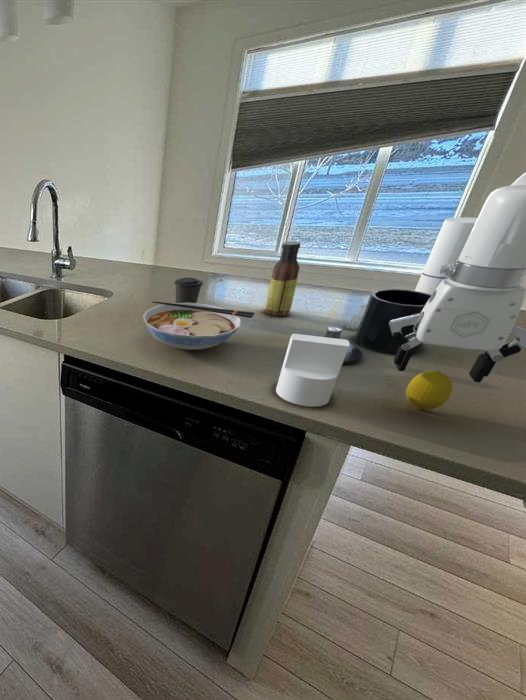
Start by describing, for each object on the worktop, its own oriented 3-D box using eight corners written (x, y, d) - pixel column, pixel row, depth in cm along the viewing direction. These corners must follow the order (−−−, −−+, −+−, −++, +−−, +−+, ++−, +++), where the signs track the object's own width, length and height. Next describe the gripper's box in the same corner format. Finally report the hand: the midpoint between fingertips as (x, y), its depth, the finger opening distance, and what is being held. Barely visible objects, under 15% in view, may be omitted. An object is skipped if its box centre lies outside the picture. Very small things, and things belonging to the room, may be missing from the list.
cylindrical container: (404, 316, 108) (446, 216, 96) (441, 321, 104) (490, 218, 91) (399, 324, 104) (442, 221, 92) (437, 330, 100) (488, 223, 87)
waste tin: (413, 337, 97) (434, 291, 92) (424, 358, 89) (448, 308, 83) (352, 331, 103) (368, 287, 97) (357, 350, 95) (375, 303, 89)
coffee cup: (196, 317, 119) (201, 284, 114) (167, 314, 123) (171, 281, 118) (201, 308, 125) (206, 276, 120) (174, 305, 129) (178, 274, 124)
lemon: (443, 409, 73) (464, 371, 69) (434, 421, 71) (455, 382, 67) (404, 397, 77) (422, 360, 73) (394, 408, 75) (412, 370, 71)
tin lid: (357, 346, 96) (366, 322, 93) (364, 370, 87) (374, 344, 84) (294, 338, 102) (300, 316, 99) (294, 360, 93) (301, 335, 90)
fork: (374, 315, 116) (378, 306, 114) (357, 330, 103) (361, 320, 102) (362, 313, 117) (366, 304, 116) (343, 328, 105) (347, 317, 104)
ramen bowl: (121, 350, 104) (123, 321, 100) (157, 321, 119) (160, 294, 115) (224, 374, 90) (231, 341, 86) (251, 338, 105) (258, 308, 100)
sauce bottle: (288, 310, 118) (307, 240, 108) (289, 318, 113) (309, 245, 103) (263, 308, 121) (279, 239, 111) (263, 316, 116) (280, 244, 106)
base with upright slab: (274, 400, 80) (290, 345, 74) (277, 379, 86) (291, 327, 80) (330, 410, 76) (351, 353, 70) (328, 388, 82) (347, 334, 76)
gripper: (416, 277, 63) (375, 373, 71) (585, 287, 55) (515, 394, 63) (407, 265, 68) (369, 355, 77) (559, 272, 60) (498, 373, 69)
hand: (435, 373), depth 70 cm, fingers open, 9 cm apart
